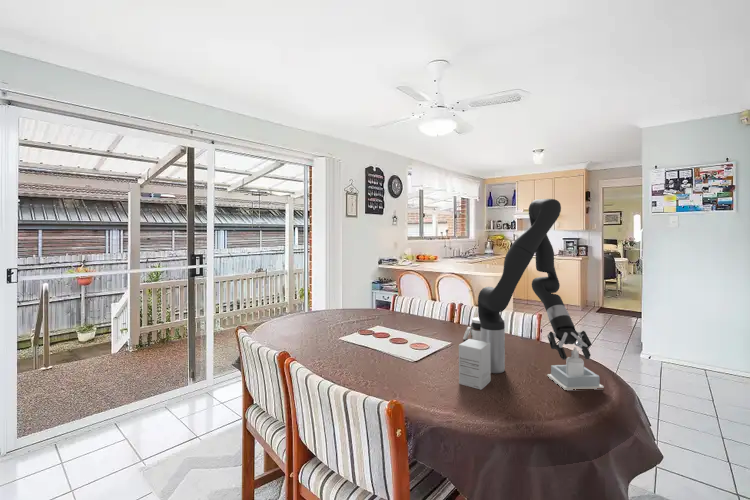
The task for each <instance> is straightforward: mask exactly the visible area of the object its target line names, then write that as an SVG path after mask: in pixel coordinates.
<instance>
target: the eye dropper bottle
mask: <svg viewBox="0 0 750 500" xmlns="http://www.w3.org/2000/svg"><path fill="white" fill-rule="evenodd" d="M570 353H571V356H568V357H567V358H566V359H565V362H566V363H565V365H566V374H567V375H568V376H584V367H585V361H584V360H583V358H581V357H580V352H579V351H578V350H577V346H576V347H573V350H571V352H570Z"/></svg>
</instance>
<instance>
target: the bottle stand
mask: <svg viewBox="0 0 750 500" xmlns="http://www.w3.org/2000/svg"><path fill="white" fill-rule="evenodd" d="M547 376H548V377H549V378H548V377H547ZM546 377H547V378H548V379H550V380H551V381H552V380H553V381H554V382H553V381H552V382H553V383H555V385H557V384H558V385H559V386H560V388H561V387H562V388H563V389H564V390H567V391H577V390H576V389H594V390H598V389H597V388H604V387H605V386H604V385H603V384H601V383H600V375H599V374H597V373H595V372H594V371H592V370H590V369H589V368H587V367H585V366H584V376H568V375H567V374H566V364H554V365H550V373H547V375H546ZM558 385H557V386H558ZM559 386H558V387H559ZM562 388H561V389H562ZM563 389H562V390H563ZM573 389H575V390H573ZM564 390H563V391H564Z"/></svg>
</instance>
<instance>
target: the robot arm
mask: <svg viewBox="0 0 750 500" xmlns="http://www.w3.org/2000/svg"><path fill="white" fill-rule="evenodd" d="M561 212H562V205H561V203H560V202H559V201H558V200H557V199H554V198H537V199H534V200H533V201H532V202H530V203H529V207H528V218H529V223H530V227H529V228H528V229H527V230H526V231H525V232H523V233H522V234H521V235H520V236H519V237H517V238H516V239H515V240H514V241H513V243H512V244H511V246H510V247H509V248H508V250H507V253H506V255H505V256H504V260H503V261H504V262H503V271H502V274H501V277H500V279H499V280H498V283H497V284H496V286H495V287H493V286H485V287H483V288H482V289H480V291H479V293H478V296H477V312H478V313H477V314H478V315H477V317H479V320H480V324H481V341H483V342H489V343H490V365H491V374H501V373H503V372H505V369H506V368H505V366H506V365H505V362H506V361H505V354H506V353H505V342H506V340H505V337H506V334H505V332H506V331H505V328H506V325H505V320H504V319H503V318H502V316H501V313H502V312H504V311H505V309H506V308H508V305H510V301H511V299H512V297H513V295H514V293H515V290H516V288H517V286H518V283H519V282H520V280H521V278H522V277H523V275H524V273H525V271H526V269H527V267H528V266H529V264H530V263H531V261H532V260H533V257H534V256H535V269H536V271H538V272H539V273H546V274H547V276H540V277H539V276H537V277H535V278H534V279H532V281H531V288H532V291H533V293H535V295H536V296H537V298H538V299H539V300H540V301H541V303H542V304H543V306H544V309H545V311H546V315H547V318H548V321H549V323H550V326H551V328H552V330H553V332H552V331H550V332H548V334H547V335H546V336H547V340H548V343H549V345H550V348H551V349H552V350H557V353H558V355H559V357H560V359H562V360H563V361H566V359H567V358H568V357H567V353H566V351H565V348H564V347H563V346H564V345H574V346H576V347H578V348H580V349H581V352H582V353H583V356H584V358H585V360H589V359H590V358H591V352H590V351H589V348H590V347H591V346H592V342H591V341H590V339H589V337H588V334H587V333H586V331H585V330H582V331H580V332H579V331H577V330H576V327H575V325H574V322H573V320H572V318H571V315H570V313H569V312H568V310H567V308H566V306H565V303H564V302H563V299H562V297H561V296H560V295H559V294H557V292H558V291H560V290H559V289H560V287H561V284H560V281H559V278H558V275H557V272H556V268H555V251H554V248H553V245H552V243H551V241H550V239H549V236H548V232H550V230H551V229H552V227H553V226H554V224H555V223H556V222H557V220H558V218H559V217H560V216H561V215H560V214H561ZM556 339H557V340H558V342H557V341H556Z"/></svg>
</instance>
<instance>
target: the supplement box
mask: <svg viewBox="0 0 750 500" xmlns="http://www.w3.org/2000/svg"><path fill="white" fill-rule="evenodd" d="M491 374H492V373H491V365H490V343H489V342H483V341H478V340H473V339H471V338H467V339H466V340H465V341H463V342H461V343H459V344H458V384H459V385H463V386H466V387H470V388H473V389H477V390H481V391H482V390H483V389H484V388H485V387H486V386H487V385H488V384H489V383H490V382H491Z"/></svg>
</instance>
